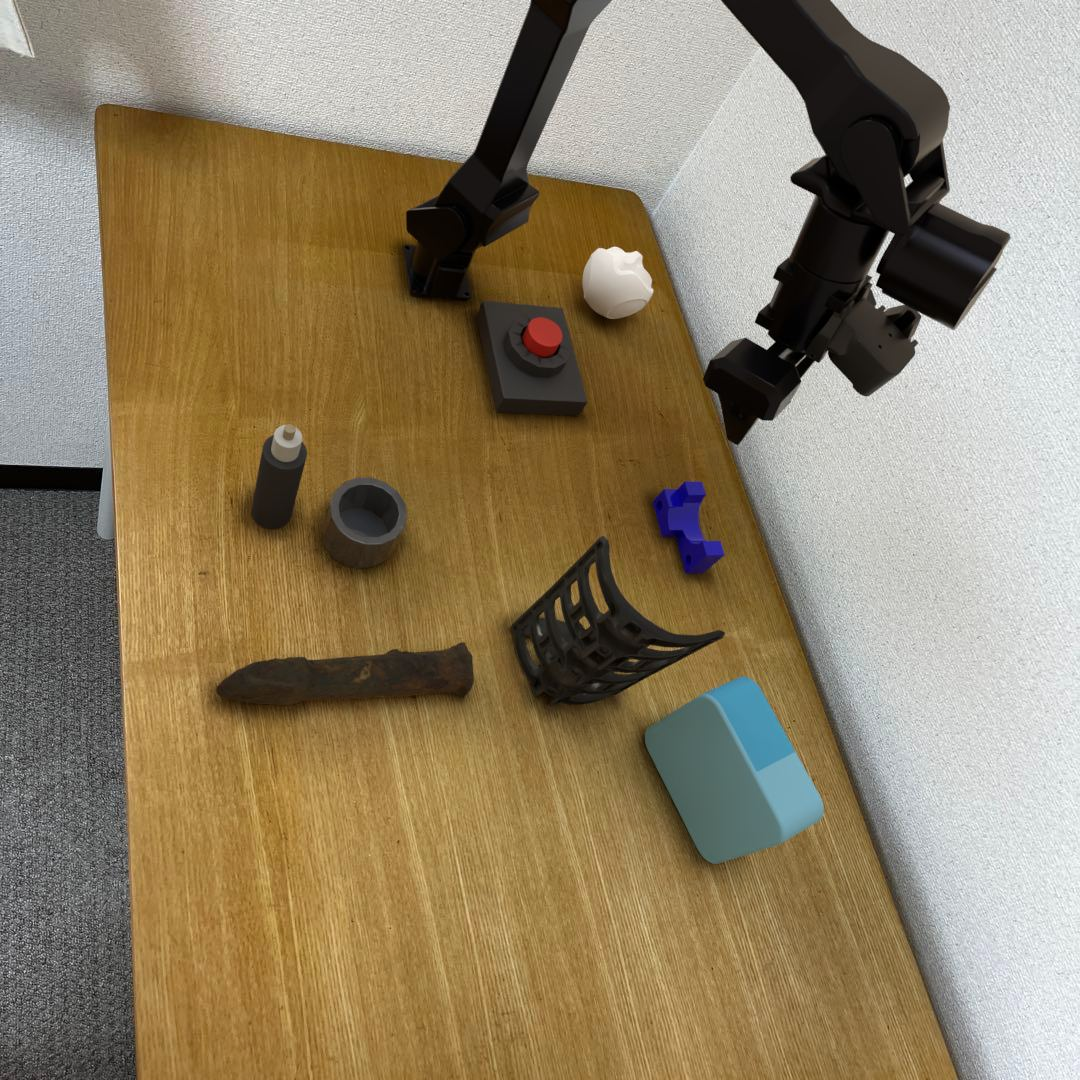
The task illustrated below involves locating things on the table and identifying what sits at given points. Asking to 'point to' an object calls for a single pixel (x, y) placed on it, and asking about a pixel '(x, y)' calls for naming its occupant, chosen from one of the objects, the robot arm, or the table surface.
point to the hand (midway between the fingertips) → (758, 415)
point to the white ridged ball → (616, 283)
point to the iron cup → (363, 522)
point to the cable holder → (687, 526)
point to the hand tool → (352, 677)
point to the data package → (733, 772)
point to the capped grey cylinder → (279, 477)
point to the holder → (594, 638)
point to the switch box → (528, 362)
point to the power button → (542, 337)
